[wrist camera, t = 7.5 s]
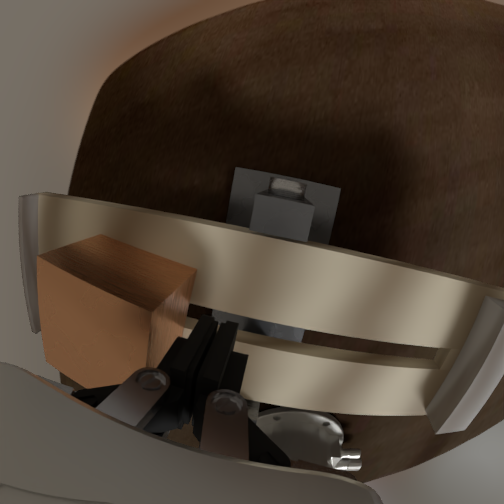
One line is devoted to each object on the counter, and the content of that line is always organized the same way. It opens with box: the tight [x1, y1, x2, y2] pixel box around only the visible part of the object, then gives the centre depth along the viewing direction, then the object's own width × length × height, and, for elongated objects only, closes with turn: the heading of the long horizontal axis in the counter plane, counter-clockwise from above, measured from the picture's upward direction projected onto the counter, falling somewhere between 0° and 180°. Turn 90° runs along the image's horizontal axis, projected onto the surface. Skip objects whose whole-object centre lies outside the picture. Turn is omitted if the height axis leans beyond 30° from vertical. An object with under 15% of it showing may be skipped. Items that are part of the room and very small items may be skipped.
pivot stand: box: [212, 167, 341, 424], centre depth 18 cm, size 8×16×10 cm, turn 170°
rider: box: [37, 234, 197, 389], centre depth 13 cm, size 6×6×6 cm
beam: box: [19, 192, 504, 434], centre depth 13 cm, size 32×10×4 cm, turn 80°
